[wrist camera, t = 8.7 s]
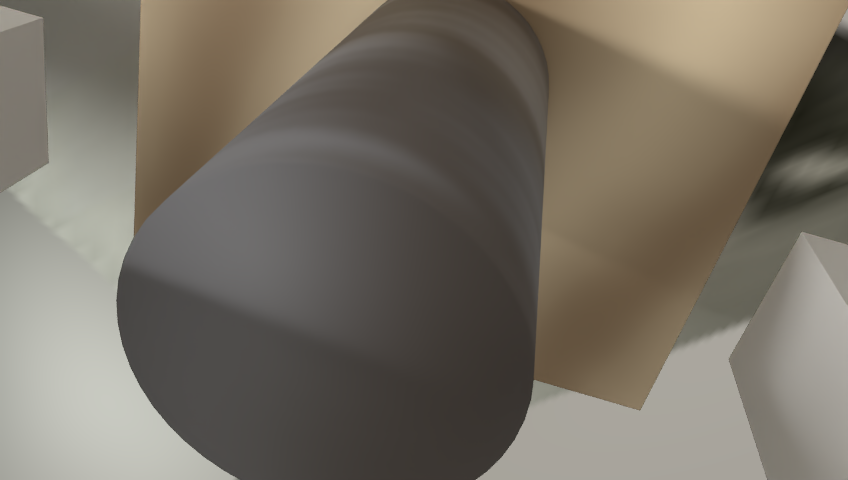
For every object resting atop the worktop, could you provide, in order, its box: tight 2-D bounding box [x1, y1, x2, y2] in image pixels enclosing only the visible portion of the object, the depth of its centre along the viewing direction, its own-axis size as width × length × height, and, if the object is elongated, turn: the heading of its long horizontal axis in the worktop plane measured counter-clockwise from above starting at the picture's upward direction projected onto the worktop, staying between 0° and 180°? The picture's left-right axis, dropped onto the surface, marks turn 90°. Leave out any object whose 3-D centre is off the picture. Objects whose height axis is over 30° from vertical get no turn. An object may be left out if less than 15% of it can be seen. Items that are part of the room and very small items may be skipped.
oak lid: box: [116, 0, 848, 480], centre depth 14 cm, size 16×16×12 cm
